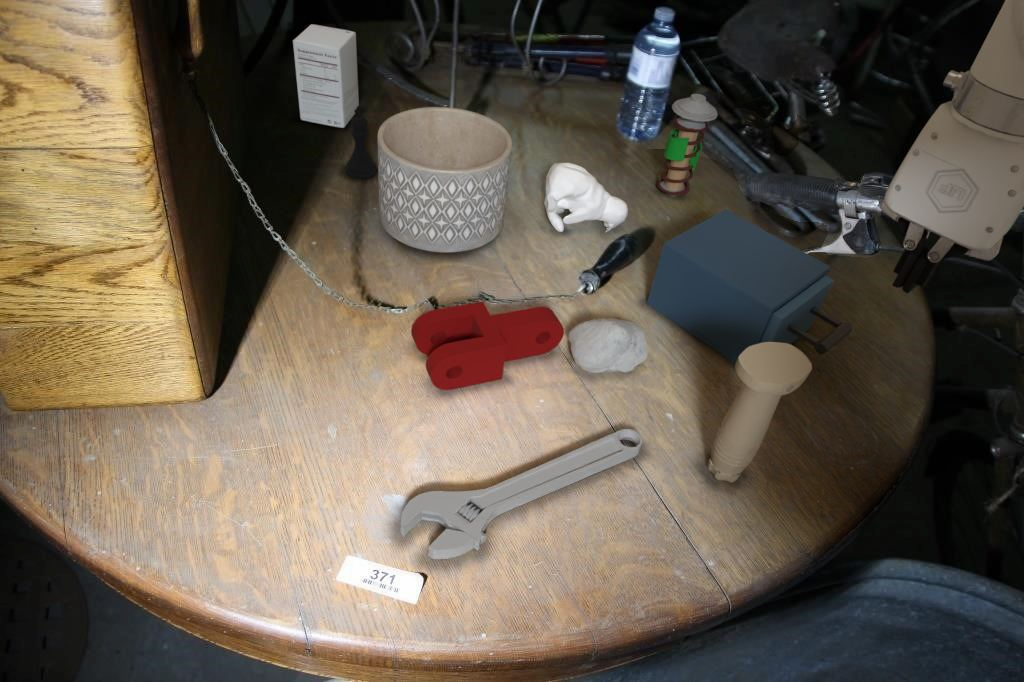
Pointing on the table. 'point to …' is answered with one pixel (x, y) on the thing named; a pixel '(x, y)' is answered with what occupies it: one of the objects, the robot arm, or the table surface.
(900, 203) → the robot arm
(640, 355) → the pebble
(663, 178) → the shock absorber
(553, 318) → the mechanical linkage
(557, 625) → the table surface
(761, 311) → the cabinet
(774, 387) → the handle
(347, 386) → the table surface
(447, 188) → the planter
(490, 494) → the adjustable wrench
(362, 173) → the chess piece
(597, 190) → the white figurine
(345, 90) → the white packaging box
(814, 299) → the drawer
